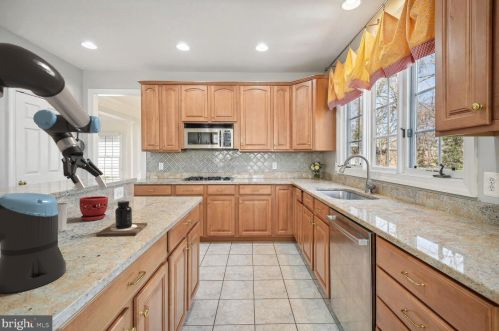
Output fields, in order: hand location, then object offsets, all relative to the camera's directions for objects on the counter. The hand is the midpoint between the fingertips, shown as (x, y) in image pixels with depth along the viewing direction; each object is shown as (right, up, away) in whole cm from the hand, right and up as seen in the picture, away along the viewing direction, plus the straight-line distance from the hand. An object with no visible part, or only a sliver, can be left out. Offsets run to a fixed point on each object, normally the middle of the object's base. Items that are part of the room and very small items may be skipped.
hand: (93, 188), depth 107 cm
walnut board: (+12, -20, +4) cm, 23 cm away
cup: (-20, -20, +4) cm, 28 cm away
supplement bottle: (+12, -18, +4) cm, 22 cm away
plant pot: (-16, -19, +25) cm, 35 cm away
